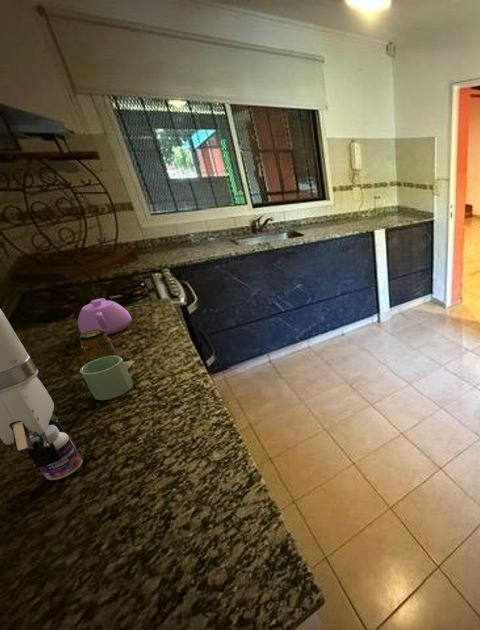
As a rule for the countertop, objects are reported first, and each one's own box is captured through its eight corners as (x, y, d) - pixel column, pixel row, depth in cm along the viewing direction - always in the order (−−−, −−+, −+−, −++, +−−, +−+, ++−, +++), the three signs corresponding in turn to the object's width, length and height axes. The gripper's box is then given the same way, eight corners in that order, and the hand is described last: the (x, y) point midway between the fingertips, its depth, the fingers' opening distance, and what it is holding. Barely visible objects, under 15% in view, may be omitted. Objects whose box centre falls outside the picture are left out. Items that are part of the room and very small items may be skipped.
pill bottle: (57, 484, 64) (31, 447, 60) (39, 476, 66) (12, 439, 61) (90, 461, 69) (68, 425, 64) (72, 454, 70) (50, 419, 66)
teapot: (132, 312, 130) (121, 286, 125) (134, 332, 116) (122, 303, 111) (83, 322, 122) (70, 295, 118) (80, 345, 108) (64, 315, 104)
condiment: (102, 364, 99) (84, 328, 94) (135, 360, 101) (119, 325, 96) (87, 380, 93) (66, 342, 87) (123, 375, 95) (105, 337, 89)
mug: (91, 404, 84) (77, 378, 80) (95, 387, 90) (82, 362, 86) (132, 392, 88) (120, 366, 84) (133, 376, 94) (122, 352, 90)
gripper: (-13, 358, 61) (37, 433, 69) (-55, 412, 49) (12, 496, 57) (44, 345, 65) (86, 417, 73) (20, 393, 53) (73, 473, 61)
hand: (53, 451), depth 65 cm, fingers closed on pill bottle, 5 cm apart
